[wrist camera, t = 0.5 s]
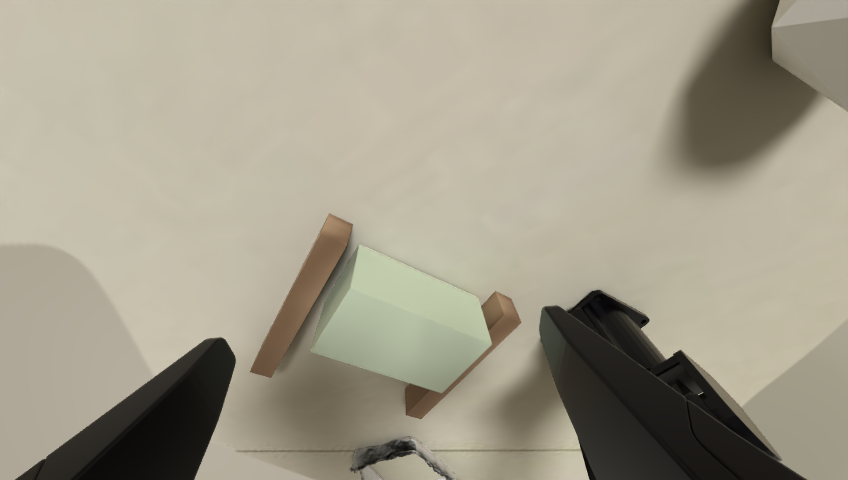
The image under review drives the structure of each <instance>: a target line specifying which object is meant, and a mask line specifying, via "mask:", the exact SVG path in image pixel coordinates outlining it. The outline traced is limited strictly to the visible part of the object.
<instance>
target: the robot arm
mask: <svg viewBox="0 0 848 480" xmlns="http://www.w3.org/2000/svg"><path fill="white" fill-rule="evenodd" d="M648 322H649V318H648V317H647V316H646V315H645V314H643V313H642V312H640V311H638V310H636V309H634V308H632V307H630V306H629V305H627V304H625V303H623V302H621V301H619V300H618V299H616V298H614V297H612V296H610V295H608V294H607V293H605V292H603V291H601V290H596V291H594V292H592V293H591V294H590V295H589V296H588V297H587V298H586V299H584V300H583V301H582V302H581V303H580V304H579V305H578V306H577V307H576V308H574V309H573V310H572V311H571V312H570V313H568V312H567V311H565V310H564V309H562V308H561V307H559V306H556V305H555V306H545V307H543V308H542V311H541V318H540V326H539V331H540V336H541V340H542V343H543V346H544V349H545V352H546V356H547V359H548V362H549V365H550V368H551V372H552V375H553V378H554V381H555V384H556V387H557V390H558V392H559V395H560V397H561V399H562V402H563V404H564V406H565V408H566V411H567V413H568V415H569V418H570V420H571V422H572V425H573V427H574V429H575V431H576V434H577V436H578V440H579V444H580V447H581V451H582V455H583V458H584V462H585V465H586V469H587V473H588V476H589V479H590V480H807V479H805V478H804V477H802V476H800V475H799V474H797V473H796V472H794V471H793V470H791V469H789V468H788V467H786V466H785V465H783V464H782V463H780V462H779V461H781V460H782V459H781V457H780V456H779V454H778V453H777V452H776V451H775V449H774V448H773V447H772V446H771V444H770V443H769V442H768V441H767V439H766V438H765V437H764V436H763V434H762V433H761V432H760V431H759V429H758V428H757V427H756V425H755V424H754V423H753V422H752V420H751V419H750V418H749V417H748V415H747V414H746V413H745V412H744V410H743V409H742V408H741V407H740V406H739V404H738V403H737V402H736V401H735V400H734V399H733V398H732V397H731V396H730V395H729V394H728V393H727V392H726V391H725V390H724V389H723V388H722V387H721V386H720V385H719V384H718V383H717V382H716V380H715V379H714V378H713V377H712V376H711V375H710V374H708V373H707V372H706V371H705V370H704V369H703V368H701V367H700V366H699V365H698V364H697V363H696V362H694V361H693V360H692V359H691V358H690V357H688V356H687V355H686V354H685V353H684V352H683V351H681V350H679V351H678V352H676V353H674V354H673V355H674V356H672V357H670V358H669V359H667V360H666V359H665V358H664V356H663V355H662V354H661V353H660V352H659V350H658V349H657V348H656V347H655V346H654V344H653V343H652V342H651V341H650V340H649V338H648V337H647V336H646V335H645V334H644V332H643V331H642V330H641V328H642V327H644V326H645V325H646V324H647V323H648ZM235 363H236V358H235V355H234V353H233V352H232V350H231V348H230V347H229V345H228V343H227V342H226V340H225V339H224V338H221V337H219V338H209V339H206V340H204V341H203V342H202V343H200V344H199V345H197V346H196V347H195V348H193V349H192V350H191V351H189V352H188V353H187V354H185V355H184V356H183V357H181V358H180V359H178V360H177V361H176V362H174V363H173V364H172V365H170V366H169V367H168V368H166V369H165V370H164V371H162V372H161V373H159V374H158V375H157V376H155V377H154V378H153V379H151V380H150V381H149V382H147V383H146V384H144V385H143V386H142V387H140V388H139V389H138V390H136V391H135V392H134V393H133V394H131V395H130V396H128V397H127V398H126V399H124V400H123V401H121V402H120V403H119V404H117V405H116V406H115V407H113V408H112V409H111V410H109V411H108V412H106V413H105V414H104V415H102V416H101V417H100V418H98V419H97V420H96V421H94V422H93V423H92V424H90V425H89V426H87V427H86V428H85V429H83V430H82V431H81V432H79V433H78V434H77V435H75V436H74V437H73V438H71V439H70V440H68V441H67V442H66V443H64V444H63V445H62V446H60V447H59V448H58V449H56V450H55V451H54V452H52V453H51V454H49V455H48V456H47V458H46V459H43V460H41V461H40V462H38V463H37V464H36V465H35V466H33V467H32V468H30V469H29V470H28V471H26V472H25V473H24V474H23V475H21V476H20V477H18V478H17V479H15V480H194V479H195V476H196V474H197V471H198V469H199V466H200V464H201V462H202V459H203V456H204V454H205V452H206V449H207V447H208V444H209V442H210V440H211V437H212V435H213V432H214V430H215V427H216V425H217V422H218V419H219V416H220V413H221V410H222V407H223V404H224V401H225V397H226V394H227V391H228V387H229V384H230V381H231V377H232V374H233V371H234V367H235ZM702 392H703V393H702ZM700 393H702V394H700ZM698 394H700V395H698Z"/></svg>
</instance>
